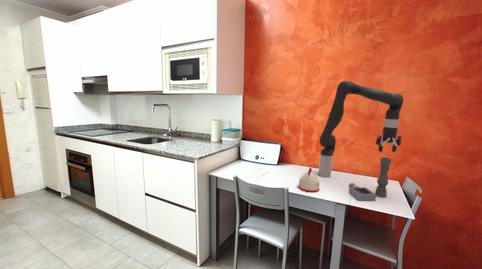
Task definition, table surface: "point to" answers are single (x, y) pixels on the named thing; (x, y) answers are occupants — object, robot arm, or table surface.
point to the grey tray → (361, 193)
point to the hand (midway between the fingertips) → (386, 151)
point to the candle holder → (383, 177)
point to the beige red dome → (309, 182)
